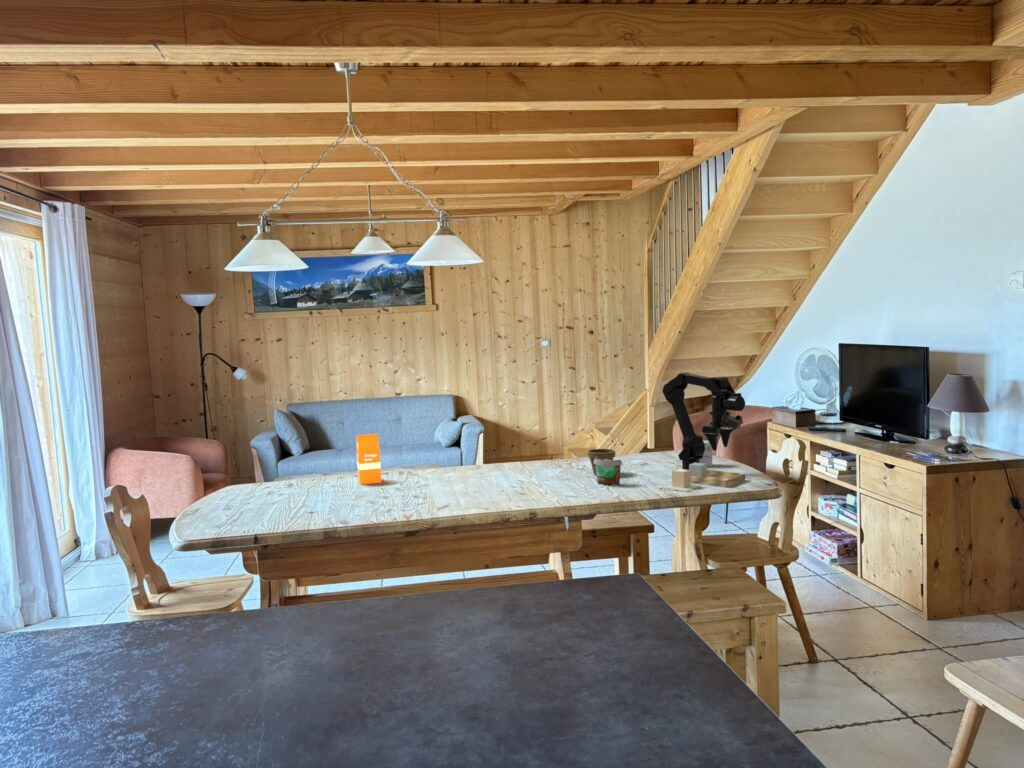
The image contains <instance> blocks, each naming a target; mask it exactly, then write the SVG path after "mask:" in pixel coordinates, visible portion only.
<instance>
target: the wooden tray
mask: <svg viewBox="0 0 1024 768" xmlns="http://www.w3.org/2000/svg"><path fill="white" fill-rule="evenodd" d="M745 480H746V474H745V473H740V472H732V471H724V470H714V469H707V478H702V477H693V476H691V484H696V485H703V486H709V487H710V486H711V487H717V488H718V487H720V488H725V489H726V488H729V487H732V486H734V485H737V484H739V483H741V482H744V481H745Z"/></svg>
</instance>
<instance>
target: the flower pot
mask: <svg viewBox="0 0 1024 768" xmlns="http://www.w3.org/2000/svg"><path fill="white" fill-rule="evenodd" d="M587 457H588V458H589V460H590V463H591V468H592V472H593V474H594V475H595V476H597V474H596V465H595V464H594V459H595V457H598V459H610V460H614V458H615V457H616V450H615V449H611V448H593V449H589V450H587Z"/></svg>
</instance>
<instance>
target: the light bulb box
mask: <svg viewBox="0 0 1024 768" xmlns="http://www.w3.org/2000/svg"><path fill="white" fill-rule="evenodd" d="M703 442H704V444H705V445H704V446H705V451H704V454H703V457H702V459H700V463H704V464H707V468H712V467H713V449H712V447H711V445H710V443H709V441H708V439H707V440H705V439H703Z"/></svg>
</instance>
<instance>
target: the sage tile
mask: <svg viewBox="0 0 1024 768" xmlns="http://www.w3.org/2000/svg"><path fill="white" fill-rule="evenodd" d="M701 486H702V485H701V484H693V483H691V486H689V487H686V488H679V487H672V482H671V483H669V484H666V485H664V486H661V487H660V489H661V488H664V489H663V490H667V489H670V490H669V491H674V490H677V492H681V491H684V492H683V493H689V492H690V491H691V490H694V489H696V488H700V487H701Z"/></svg>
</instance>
